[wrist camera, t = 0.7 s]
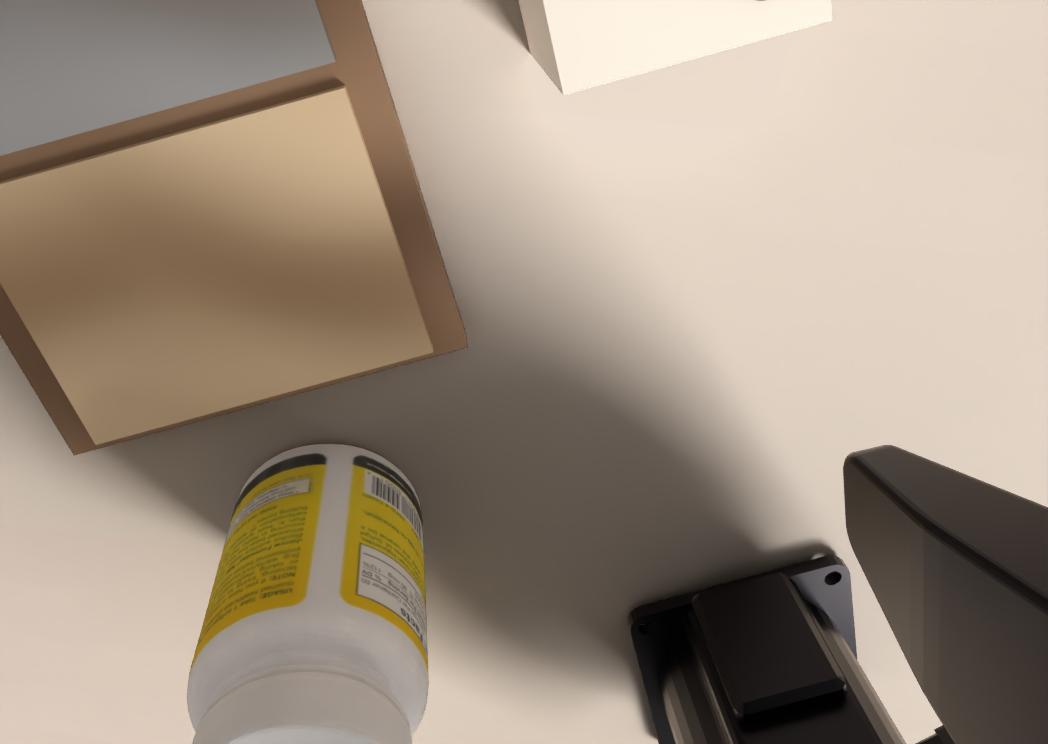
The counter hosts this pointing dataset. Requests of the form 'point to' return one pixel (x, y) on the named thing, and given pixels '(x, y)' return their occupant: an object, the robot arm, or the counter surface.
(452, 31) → the counter surface
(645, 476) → the counter surface
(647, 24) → the die
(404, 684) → the supplement bottle
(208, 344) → the game board
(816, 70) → the counter surface
